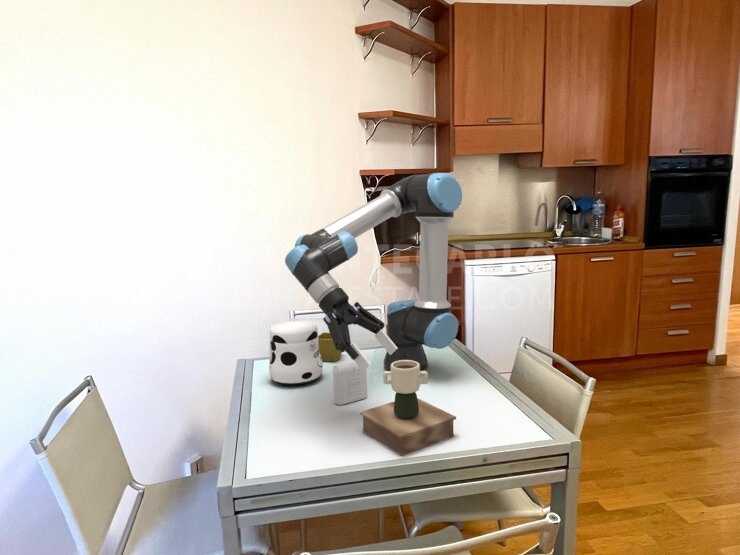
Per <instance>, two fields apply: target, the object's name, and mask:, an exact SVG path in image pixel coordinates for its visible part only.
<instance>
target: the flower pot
mask: <svg viewBox="0 0 740 555" xmlns="http://www.w3.org/2000/svg"><path fill="white" fill-rule="evenodd" d="M318 339H319V352H320V355H321V358H322V362H336V361H338V359H339V358H341V355H342V353H343V352H341V351H340V350H336V348H335V345H334V343H333V340H332V337H331V334H330V332H321V333H320V334H318ZM339 343H340V342H339Z"/></svg>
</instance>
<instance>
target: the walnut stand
mask: <svg viewBox="0 0 740 555" xmlns="http://www.w3.org/2000/svg"><path fill="white" fill-rule="evenodd" d="M417 400H418V406H419V413H418V414H417V415H415V416H413V417H410V418H403V417H400V416H397V415H396V414H395V413H394V401H392V402H388V403H385V404H381V405H378V406H376V407H371V408H368V409H365V410H362V411H359V415H361V416H362V428H363V431H362V432H365V433H366V434H367V435H369V436H370V437H372V438H374V439H375V440H377V441H378V442H379V443H381V444H382V445H384V446H386V447H387V448H389V449H390V450H392V451H393V452H395V453H396V454H398V455H399V456H404V454H405V455H407V454H410V453H412V452H415V451H417V449H418V450H420V449H422V448H427V447H428V446H431V445H433V444H436V443H439V442H442V441H444V440H447V439H448V438H451V437H454V421H455V420H457V416H455V415H454V414H451V413H449V412H447V411H445V410H443V409H441V408H439V407H436V406H435V405H432V404H430V403H428V402H427V401H424V400H422V399H420V398H418V397H417ZM409 452H410V453H409Z"/></svg>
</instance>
